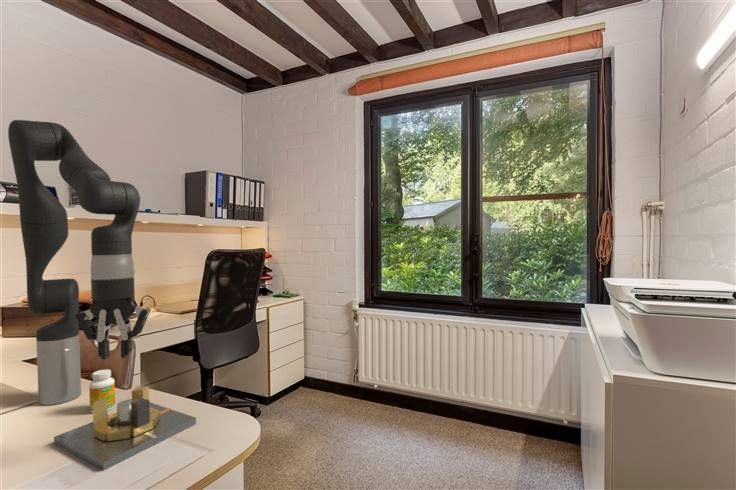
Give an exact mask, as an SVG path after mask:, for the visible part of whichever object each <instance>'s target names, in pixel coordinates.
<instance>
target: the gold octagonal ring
mask: <svg viewBox="0 0 736 490" xmlns="http://www.w3.org/2000/svg"><path fill="white" fill-rule="evenodd" d="M149 396H150V390H149V386H148V385H143V386H142V385H141V386H136V387H134V388H133V389H132V390H131V399H137V401H134V402H132V403H131V422H132V426H127V427H119V428H112V427H111V425H113V424H116V423H117V411H116V412H113V413H110V414H109V411H108V404H107V399H105V400H100V401H95V402H94V404H93V413H92V419H93V421H92V422H93V425H94V427H93V434H94V437H96V438H98V439H101V440H103V441H106V440H107V441H113V440H119V439H126V438H130V437H131V436H133V437H135V436H137V435H139V434H141V433H143V432H146V431H148V430H150V429H152V428H153V427H155V426H156V424H157V422H158V420H159V419H160V411H159V410H157V409H154V408H152V407H149V402H150V397H149Z"/></svg>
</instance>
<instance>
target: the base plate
mask: <svg viewBox="0 0 736 490" xmlns="http://www.w3.org/2000/svg"><path fill="white" fill-rule="evenodd" d="M134 401H137V399H132V398H131V399H125V400H121V401H120V402H117V404H116V412H117V423H116V424H113V425H111V427H112V428H119V427H127V426H132V422H131V403H132V402H134ZM149 407H152V408H154V409H157V410H159V411H160V419H159V420H158V422H157V424H156V426H155V427H153V428H152V429H150V430H148V431H146V432H143V433H141V434H139V435H137V436H135V437H133V436H131V437H130V438H126V439H119V440H113V441H107V440H106V441H103V440H101V439H98V438H96V437H94V434H93V427H94V425H93V421H92V422H89V423H86V424H84V425H81V426H79V427H76V428H74V429H71V430H69V431H65V432H63V433H61V434H58V435H56V436H54V437H53V444H54V445H55V446H57V447H59V448H61V449H63V450H65V451H66V452H69V453H71V454H72V455H75V456H76V457H78V458H80V459H81V460H83V461H85V462H88V463H89V464H91V465H93V466H95V467H97V468H99V469H100V470H102V471H106V470H107V469H109V468H111V467H114V466H115V465H117V464H119V463H121V462H123V461H125V460H127V459H129V458H131V457H134V456H135V455H136V454H139V453H142V452H144V451H145V450H147V449H149V448H150V447H153V446H156V445H157V444H158V443H161V442H163V441H165V440H166V439H169V438H171V437H173V436H175V435H177V434H179V433H181V432H184V431H185V430H187V429H190V428H191V427H193V426H194V425H197V417H195V416H193V415H190V414H187V413H183V412H180V411H177V410H173V409H171V408H170V407H166V406H162V405H159V404H155V403H154V402H150V401H149Z"/></svg>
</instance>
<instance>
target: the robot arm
mask: <svg viewBox="0 0 736 490" xmlns="http://www.w3.org/2000/svg"><path fill="white" fill-rule="evenodd" d="M7 130H8V131H7V133H8V134H7V135H8V142H9V143H8V144H9V148H10V154H11V158H12V163H13V169H14V174H15V181H16V184H17V185H16V187H17V192H18V193H17V194H18V205H19V206H18V207H19V221H20V229H21V236H22V242H23V250H24V257H25V267H26V269H25V270H26V297H27V306H28V308H29V311H30V313H31V314H34V315H47V314H49V315H50V314H58V313H59V314H60V313H64V315H63V316H62V317H61V318H59V319H58V320H56V321H54V322H51V323H49V324H46V325H43V326H41V327H40V328H38V329H37V330H36V333H35V339H36V341H35V342H36V362H37V363H36V364H37V365H36V366H37V393H38V394H37V395H38V404H39V405H43V406H51V405H58V404H62V403H63V404H64V403H66V402H69V401H72V400H74V399H77V398H79V397H80V396H81V395H82V379H81V378H82V377H81V376H82V374H81V348H80V347H81V346H80V345H81V344H80V328H81V330H82V331H83V334H84V335H85V337H86V339H87V340H93V341H95V342H97V352H98V357H99V358H101V360H107V359H109V358H110V356H111V355H110V353H111V352H110V339H109V335H110V331H111V327H112V325H117V330H119V333H120V337H121V340H120V358H121V359H125V358H127V357H129V355H130V354H131V352H132V348H133V347H132V339H133V338H134V337H137V336H138V335H140V334H142V331H143V329H144V326H145V324H146V322H147V319H148V318H149V315H150V313H151V308H150V307H141V306H140V305H138V303H137V302H136V299H135V268H134V267H135V266H134V259H133V247H132V239H133V238H132V235H133V232H134V231H133V230H134V226H135V222H136V219H137V216H138V212H139V209H140V204H141V198H140V193H139V191H138V189H137V187H135V185H134V184H131V183H130V182H129V183H128V182H124V181H115V180H111V177H110V175H109V174H108V173H107V172H106V171H105V169H103V168H102V167H100V166H99V165H98V164H97V163H95V161H93V160H92V159H91V158H90V157H89V156H88V155H87V154H86V153H85V151H84V149H82V146H81V145H80V144H79V143H78V142H77V139H75V137H74V136H73V134H72V133H71V132H70V131H69V130H68V129H67V128H66V127H65V126H64V125H62V124H59V123H57V122H51V121H50V122H49V121H37V120H25V119H14V120H11V122H9V125H8V129H7ZM35 161H36V162H38V161H39V162H55V161H56V162H57V161H59V164H58V170H59V174H60V177H61V178H62V180H63V181H64V182H65V183H67V184H68V185H69V186H70V187H71V188H72V189H73V190H74V191H75V193H76V196H77V199H78V203H79V205H80V207H81V208H82V209H83V210H85V211H86V212H88V213H91V214H94V215H95V214H96V215H114V217H113V220H112V221H111V223H110V224H108V225H100V226H97V227H94V228H93V229H92V230H91V234H90V235H91V236H90V241H91V245H90V246H91V247H90V248H91V260H90V261H91V262H90V286H91V289H90V290H91V291H90V292H91V293H90V294H91V302H92V303H91V305H90V306H89V309H87V310H83V311H81V312H79V304H80V301H79V300H80V286H79V283H78V281H77V280H76V279H75V278H57V279H43V276H44V273H45V270H46V269H47V267H48V265H49V264H50V263H51V261H52V260H53V257H55V256H56V254H57V253H58V252H59V251H60V250H61V248H62V247H63V245H64V244H65V242H66V241H67V239H68V236H69V223H68V212H67V210H66V208H65V207H64V205H63V204H62V203H61V202H60V200H59V199H58V198H56V196H54V194H53V193H52V192H51V191H50V190H49V189H48V187H46V185H45V184H44V183H43V182H42V180H41V178H40V177H39V175H38V173H37V170H36V166H35ZM134 313H136V314H135V317H136V318H137V319H136V322H135V323H134V326H133V328H132V327H131V326H132V323H131V319H130V318H131V317H132V315H133V314H134ZM93 317H94V318H95V319H96V320H97V321H98V324H97V327H96V326H95V324H94V322H93ZM79 326H80V327H79Z"/></svg>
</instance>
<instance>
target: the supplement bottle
mask: <svg viewBox="0 0 736 490" xmlns="http://www.w3.org/2000/svg"><path fill="white" fill-rule="evenodd" d="M91 378H92V381H91V382H90V383H89V386H88V388H89V411H90V413H92V414H93V404H94V402H95V401H100V400H105V399H107V404H108V412H109V411H111V410H112V409H114V408H115V407H116V386H115V385H116V384H115V383H116V381H115V378H114V377H112V370H111V369H109V368H107V369H99V370H97V371H94V372H93V373H92V376H91Z"/></svg>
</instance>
